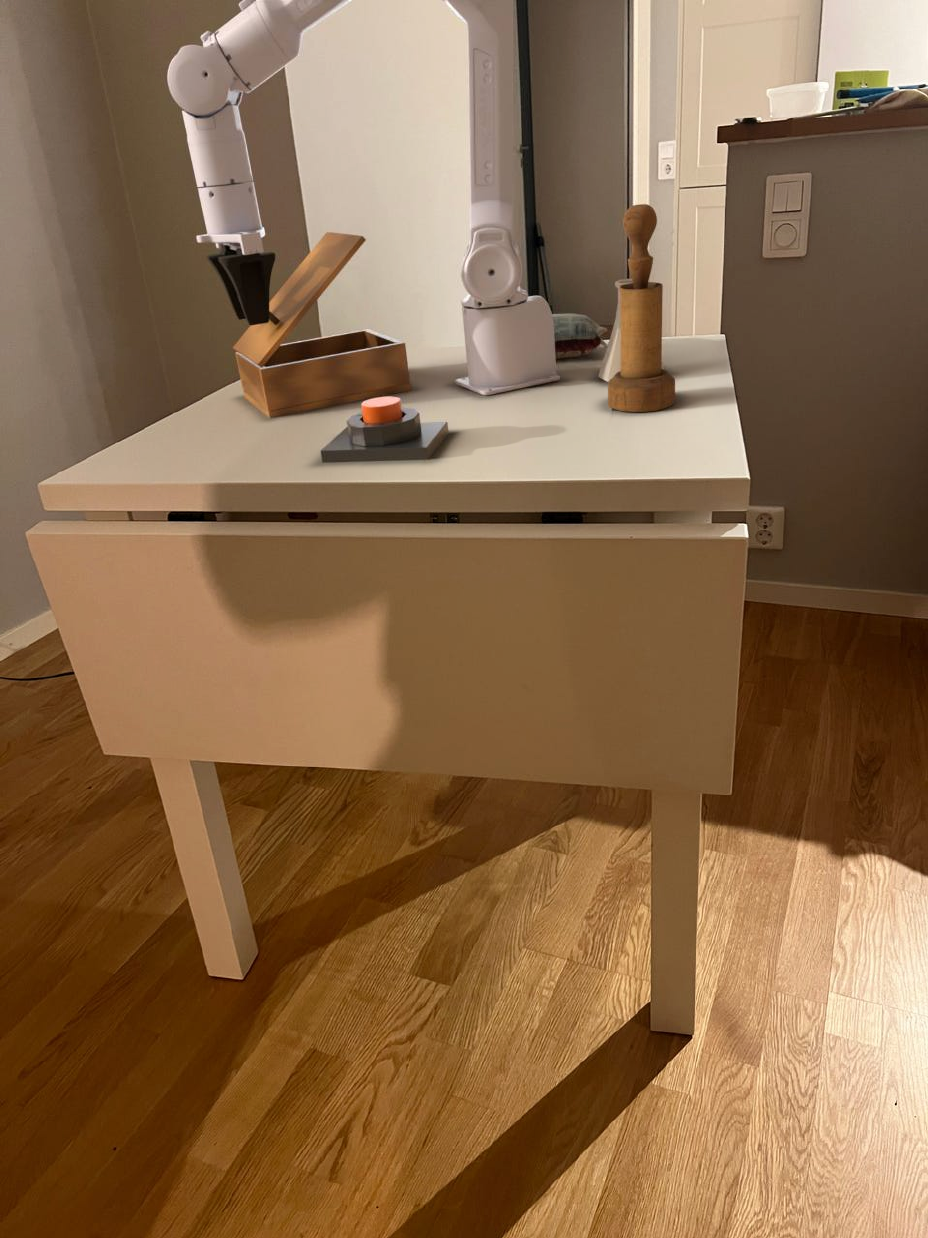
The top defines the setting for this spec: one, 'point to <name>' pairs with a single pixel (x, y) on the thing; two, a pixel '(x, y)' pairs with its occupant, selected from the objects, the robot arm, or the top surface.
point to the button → (381, 410)
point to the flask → (614, 343)
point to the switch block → (386, 440)
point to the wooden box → (325, 372)
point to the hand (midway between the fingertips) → (253, 320)
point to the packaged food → (576, 335)
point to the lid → (298, 295)
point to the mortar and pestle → (641, 326)
